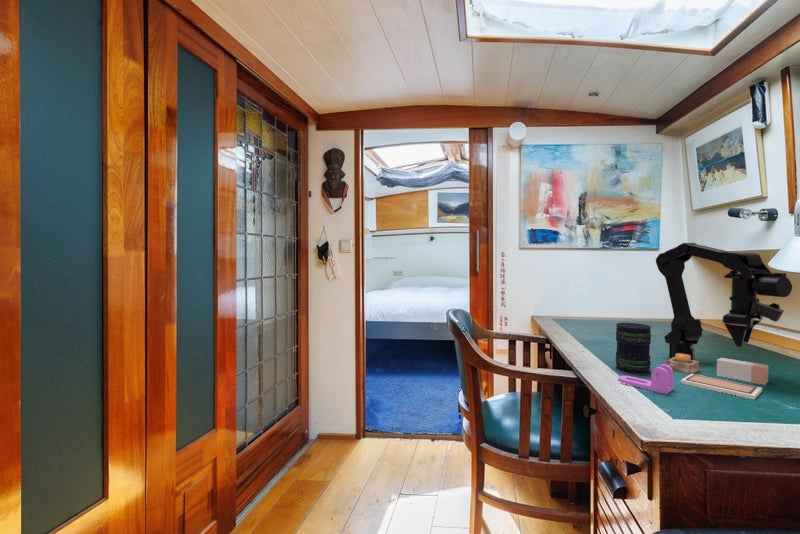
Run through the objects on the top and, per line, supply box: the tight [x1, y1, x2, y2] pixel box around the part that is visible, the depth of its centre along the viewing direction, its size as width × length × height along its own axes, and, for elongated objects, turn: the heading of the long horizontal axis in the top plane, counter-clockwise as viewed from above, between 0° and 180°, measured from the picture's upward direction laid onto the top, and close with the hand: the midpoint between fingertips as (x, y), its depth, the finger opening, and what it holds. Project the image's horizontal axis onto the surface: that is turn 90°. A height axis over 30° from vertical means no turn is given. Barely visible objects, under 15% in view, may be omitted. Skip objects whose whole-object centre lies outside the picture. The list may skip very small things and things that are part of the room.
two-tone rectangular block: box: [716, 357, 769, 386], centre depth 115 cm, size 11×4×5 cm, turn 38°
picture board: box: [680, 373, 763, 401], centre depth 107 cm, size 16×10×1 cm, turn 38°
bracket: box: [617, 363, 674, 395], centre depth 108 cm, size 13×6×7 cm, turn 41°
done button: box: [675, 353, 691, 364], centre depth 124 cm, size 4×4×3 cm
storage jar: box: [615, 322, 652, 375], centre depth 123 cm, size 10×10×15 cm
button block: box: [666, 357, 700, 375], centre depth 124 cm, size 7×7×3 cm
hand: (742, 344), depth 115 cm, fingers open, 9 cm apart
